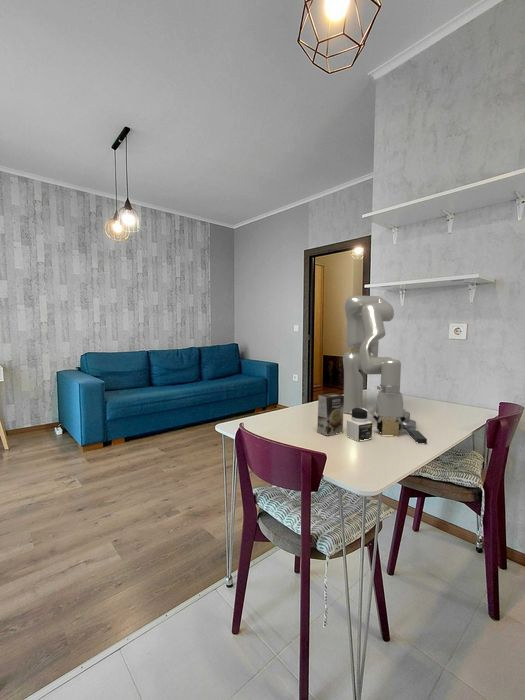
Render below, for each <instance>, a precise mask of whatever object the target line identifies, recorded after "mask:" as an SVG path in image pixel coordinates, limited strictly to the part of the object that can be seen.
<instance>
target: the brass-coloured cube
mask: <svg viewBox="0 0 525 700" xmlns="http://www.w3.org/2000/svg"><path fill="white" fill-rule="evenodd" d="M381 423H382V428H381V434H382V435H393V436H399V433H400V431H399V422H398V421H397V420H396V418H391V417H383V418H382V420H381ZM381 434H380V435H381ZM382 435H381V436H382Z"/></svg>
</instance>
